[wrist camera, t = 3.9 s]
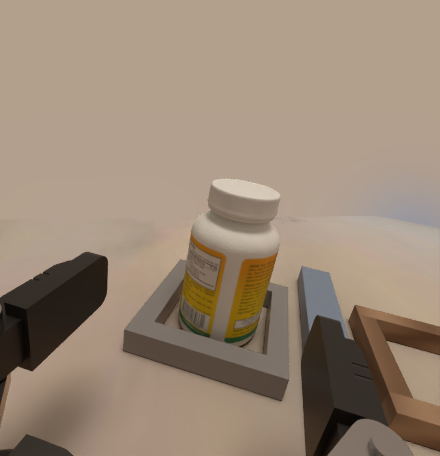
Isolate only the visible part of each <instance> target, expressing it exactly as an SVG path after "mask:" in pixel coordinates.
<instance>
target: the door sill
mask: <svg viewBox="0 0 440 456" xmlns="http://www.w3.org/2000/svg"><path fill="white" fill-rule="evenodd" d="M298 291H299V305H300V318H301V331H302V345H303V350H304V347H305V344H306V341H307V338H308V335H309V333H310V330H311V327H312V324H313V321H314V319H315V317H316V316H317V315H320V316H323V317H327V318H331V319H334V320H338V321H340V322H341V326H342V329H343V333H344V337H345V338H347V339H349V338H348V334H347V331H346V328H345V324H344V321H343V317H342V314H341V311H340V307H339V304H338V301H337V297H336V294H335V290H334V287H333V284H332V280H331V277H330V274H329V273H328V272H324V271H320V270H315V269H311V268H307V267H303V266H302V267H301V271H300V274H299V277H298Z"/></svg>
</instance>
